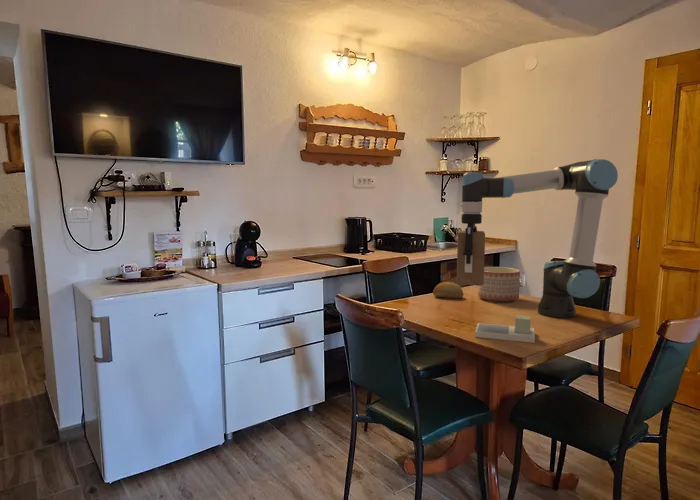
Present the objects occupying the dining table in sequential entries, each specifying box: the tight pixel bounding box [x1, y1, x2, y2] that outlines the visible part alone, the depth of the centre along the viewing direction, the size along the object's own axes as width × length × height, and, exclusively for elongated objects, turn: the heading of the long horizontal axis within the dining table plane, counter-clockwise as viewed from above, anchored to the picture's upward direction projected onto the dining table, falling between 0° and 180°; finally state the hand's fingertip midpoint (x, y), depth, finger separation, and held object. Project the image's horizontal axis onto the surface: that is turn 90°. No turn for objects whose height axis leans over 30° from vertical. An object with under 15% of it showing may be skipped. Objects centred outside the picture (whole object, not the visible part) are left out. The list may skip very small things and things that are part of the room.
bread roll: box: [432, 281, 464, 299], centre depth 233 cm, size 10×15×8 cm, turn 76°
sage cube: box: [514, 314, 532, 334], centre depth 166 cm, size 5×5×5 cm
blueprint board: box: [474, 322, 536, 344], centre depth 169 cm, size 20×12×2 cm, turn 70°
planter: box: [477, 266, 521, 303], centre depth 229 cm, size 19×19×15 cm
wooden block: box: [456, 230, 486, 286], centre depth 180 cm, size 10×10×20 cm
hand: (470, 270), depth 181 cm, fingers closed on wooden block, 10 cm apart
